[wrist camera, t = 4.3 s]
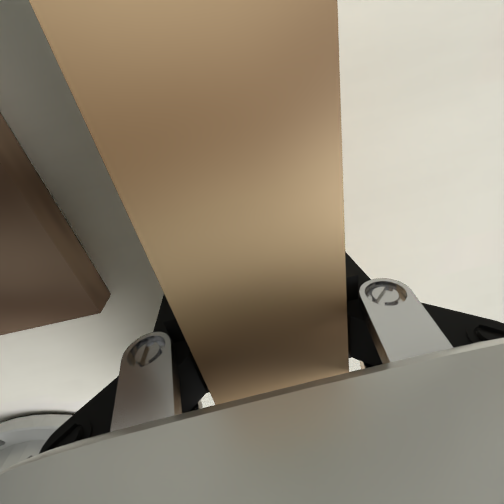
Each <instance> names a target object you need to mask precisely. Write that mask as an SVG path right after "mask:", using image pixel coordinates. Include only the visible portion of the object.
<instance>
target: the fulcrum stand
mask: <svg viewBox="0 0 504 504" xmlns="http://www.w3.org/2000/svg"><path fill="white" fill-rule="evenodd" d="M110 295H111V294H110V292H109V290H108V289H107V287H106V285H105V284H104V282H103V280H102V279H101V277H100V276H99V274H98V272H97V271H96V269H95V267H94V266H93V264H92V262H91V261H90V259H89V258H88V256H87V254H86V253H85V251H84V249H83V248H82V246H81V244H80V243H79V241H78V239H77V238H76V236H75V235H74V233H73V231H72V230H71V228H70V226H69V225H68V223H67V221H66V220H65V218H64V216H63V215H62V213H61V212H60V210H59V208H58V207H57V205H56V203H55V202H54V200H53V198H52V197H51V195H50V193H49V192H48V190H47V189H46V187H45V185H44V184H43V182H42V180H41V179H40V177H39V175H38V174H37V172H36V171H35V169H34V167H33V166H32V164H31V162H30V161H29V159H28V157H27V156H26V154H25V152H24V151H23V149H22V148H21V146H20V144H19V143H18V141H17V139H16V138H15V136H14V134H13V133H12V131H11V129H10V128H9V126H8V125H7V123H6V121H5V120H4V118H3V116H2V115H1V113H0V335H4V334H8V333H13V332H17V331H22V330H26V329H31V328H35V327H40V326H44V325H49V324H53V323H57V322H62V321H66V320H71V319H75V318H80V317H84V316H89V315H93V314H98V313H101V311H102V309H103V308H104V306H105V304H106V302H107V301H108V299H109V297H110Z"/></svg>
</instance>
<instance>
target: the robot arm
mask: <svg viewBox="0 0 504 504" xmlns="http://www.w3.org/2000/svg"><path fill="white" fill-rule="evenodd" d="M345 264H346V296H347V328H348V358H351V357H353V358H355V359H357V360H360V366H361V370H356V371H352V372H348V373H344V374H340V375H336V376H331V377H327V378H323V379H319V380H315V381H311V382H307V383H303V384H299V385H295V386H291V387H286V388H282V389H278V390H274V391H270V392H266V393H262V394H258V395H254V396H250V397H246V398H242V399H238V400H234V401H230V402H226V403H222V404H218V405H214V406H210V407H206V408H202V403H201V400H200V399H201V398H202V397H203V396H204V395H205V394H206V393H208V392H209V389H208V387H207V385H206V383H205V381H204V379H203V376H202V374H201V372H200V370H199V368H198V366H197V363H196V361H195V359H194V357H193V355H192V353H191V350H190V348H189V346H188V344H187V342H186V340H185V337H184V335H183V333H182V331H181V329H180V327H179V324H178V322H177V320H176V318H175V316H174V314H173V311H172V309H171V307H170V305H169V303H168V301H167V298H166V296H165V294H164V296H163V299H162V303H161V306H160V310H159V314H158V317H157V321H156V324H155V328H154V331H153V332H152V333H148V334H146V335H144V336H142V337H140V338H138V339H137V340H135V341H134V342H133V343H132V344H131V345H130V346H129V347H128V348H127V349H126V351H125V352H124V354H123V357H122V360H121V366H120V372H119V376H118V377H117V378H116V379H115V380H113V381H112V382H111V383H110V384H109V385H108V386H106V387H105V388H104V389H103V390H102V391H101V392H99V393H98V394H97V395H96V396H95V397H94V398H92V399H91V400H90V401H89V402H88V403H87V404H85V405H84V406H83V407H82V408H81V409H80V410H78V411H77V412H76V413H75V414H74V415H65V414H42V415H31V416H25V417H19V418H15V419H12V420H8V421H5V422H2V423H0V504H504V323H501V322H498V321H494V320H490V319H486V318H482V317H478V316H474V315H470V314H466V313H461V312H457V311H453V310H449V309H445V308H441V307H437V306H433V305H429V304H425V303H421V302H420V301H419V300H418V298H417V297H416V296H415V294H414V293H413V292H412V290H411V289H410V288H409V287H408V286H407V285H405V284H403V283H402V282H400V281H396V280H393V279H387V278H376V279H372V280H371V279H370V278H369V277H368V276H367V275H366V274H365V273H364V272H363V271H362V269H361V268H360V267H359V266H358V265H357V264H356V263H355V262H354V261H353V260H352V259H351V258H350V256H349V255H348V254H347V253H346V252H345Z"/></svg>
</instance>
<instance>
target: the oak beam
mask: <svg viewBox="0 0 504 504" xmlns="http://www.w3.org/2000/svg"><path fill="white" fill-rule="evenodd" d="M29 2H30V4H31V6H32V8H33V10H34V12H35V15H36V17H37V19H38V21H39V23H40V25H41V28H42V30H43V32H44V34H45V36H46V38H47V41H48V43H49V45H50V47H51V49H52V51H53V54H54V56H55V58H56V60H57V62H58V64H59V67H60V69H61V71H62V73H63V75H64V77H65V80H66V82H67V84H68V86H69V88H70V90H71V93H72V95H73V97H74V99H75V101H76V103H77V106H78V108H79V110H80V112H81V114H82V116H83V119H84V121H85V123H86V125H87V127H88V129H89V132H90V134H91V136H92V138H93V140H94V142H95V145H96V147H97V149H98V151H99V153H100V155H101V158H102V160H103V162H104V164H105V166H106V168H107V171H108V173H109V175H110V177H111V179H112V181H113V184H114V186H115V188H116V190H117V192H118V194H119V197H120V199H121V201H122V203H123V205H124V207H125V210H126V212H127V214H128V216H129V218H130V220H131V223H132V225H133V227H134V229H135V231H136V233H137V236H138V238H139V240H140V242H141V244H142V246H143V249H144V251H145V253H146V255H147V257H148V259H149V262H150V264H151V266H152V268H153V270H154V272H155V275H156V277H157V279H158V281H159V283H160V285H161V288H162V290H163V292H164V294H165V296H166V298H167V301H168V303H169V305H170V307H171V309H172V311H173V314H174V316H175V318H176V320H177V322H178V324H179V327H180V329H181V331H182V333H183V335H184V337H185V340H186V342H187V344H188V346H189V348H190V350H191V353H192V355H193V357H194V359H195V361H196V363H197V366H198V368H199V370H200V372H201V374H202V376H203V379H204V381H205V383H206V385H207V387H208V389H209V392H210V394H211V396H212V398H213V400H214V402H215V405H218V404H222V403H226V402H230V401H234V400H238V399H242V398H246V397H250V396H254V395H258V394H262V393H266V392H270V391H274V390H278V389H282V388H286V387H291V386H295V385H299V384H303V383H307V382H311V381H315V380H319V379H323V378H327V377H331V376H336V375H340V374H344V373H348V372H349V360H348V328H347V296H346V264H345V232H344V200H343V168H342V136H341V104H340V72H339V40H338V8H337V0H29Z"/></svg>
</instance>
